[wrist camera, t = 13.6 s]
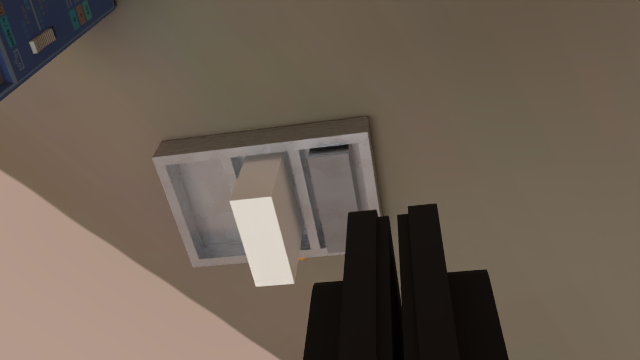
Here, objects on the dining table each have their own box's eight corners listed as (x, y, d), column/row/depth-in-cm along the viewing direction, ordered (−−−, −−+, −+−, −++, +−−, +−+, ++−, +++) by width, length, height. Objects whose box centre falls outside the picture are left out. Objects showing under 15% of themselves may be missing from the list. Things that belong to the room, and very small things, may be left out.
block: (284, 146, 47) (271, 196, 41) (303, 227, 51) (294, 283, 45) (247, 150, 47) (229, 200, 41) (269, 230, 51) (256, 286, 45)
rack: (368, 116, 45) (367, 138, 42) (385, 234, 51) (385, 261, 48) (162, 141, 48) (147, 164, 45) (201, 250, 54) (190, 277, 51)
